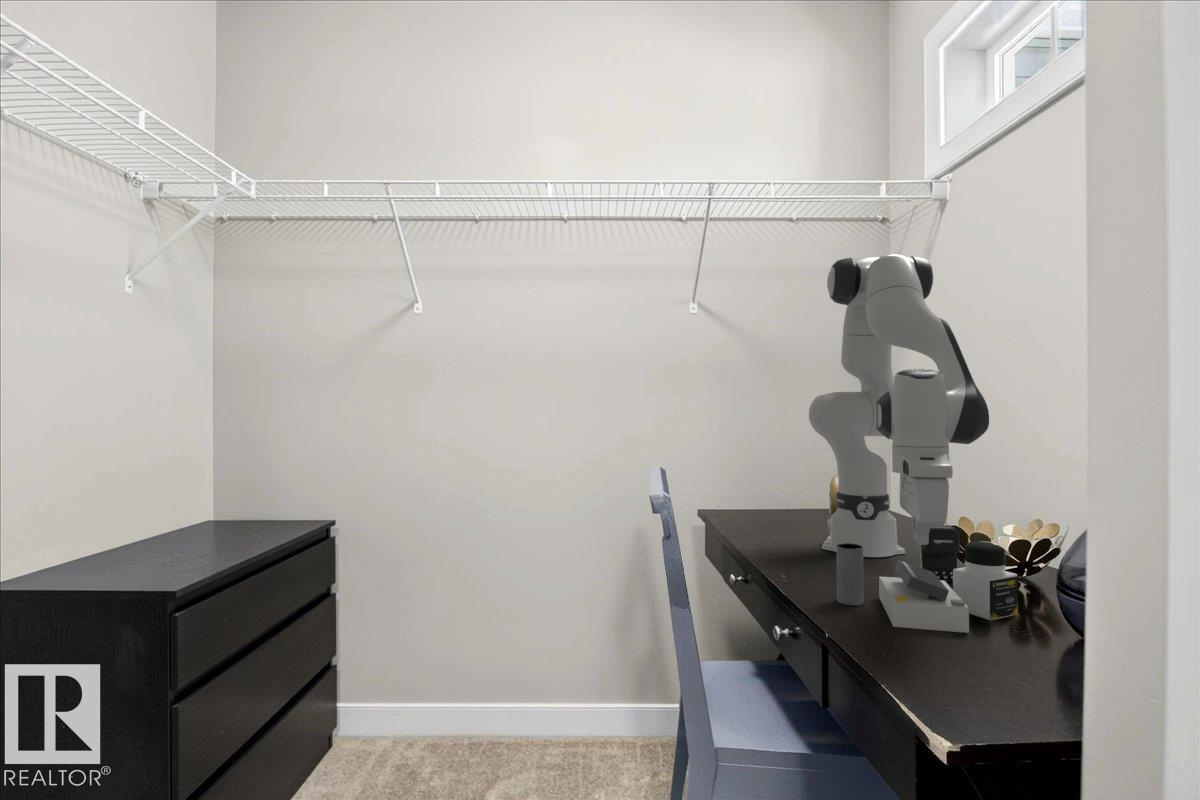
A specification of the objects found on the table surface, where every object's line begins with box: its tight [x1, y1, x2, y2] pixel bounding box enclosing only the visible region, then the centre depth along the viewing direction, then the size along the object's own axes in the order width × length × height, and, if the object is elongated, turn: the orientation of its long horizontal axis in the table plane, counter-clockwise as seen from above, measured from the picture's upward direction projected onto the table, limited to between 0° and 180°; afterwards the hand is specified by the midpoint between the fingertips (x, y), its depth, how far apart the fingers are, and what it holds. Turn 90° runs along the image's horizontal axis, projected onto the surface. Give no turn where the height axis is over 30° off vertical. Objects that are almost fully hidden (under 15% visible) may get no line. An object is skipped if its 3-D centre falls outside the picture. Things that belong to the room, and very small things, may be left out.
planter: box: [836, 543, 864, 607], centre depth 118 cm, size 4×4×10 cm
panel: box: [878, 575, 970, 634], centre depth 112 cm, size 16×11×5 cm
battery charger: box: [919, 523, 961, 583], centre depth 132 cm, size 7×4×11 cm, turn 81°
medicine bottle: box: [952, 540, 1019, 621], centre depth 113 cm, size 7×7×12 cm
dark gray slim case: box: [894, 559, 949, 601], centre depth 112 cm, size 12×6×2 cm, turn 164°
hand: (921, 543), depth 111 cm, fingers closed
